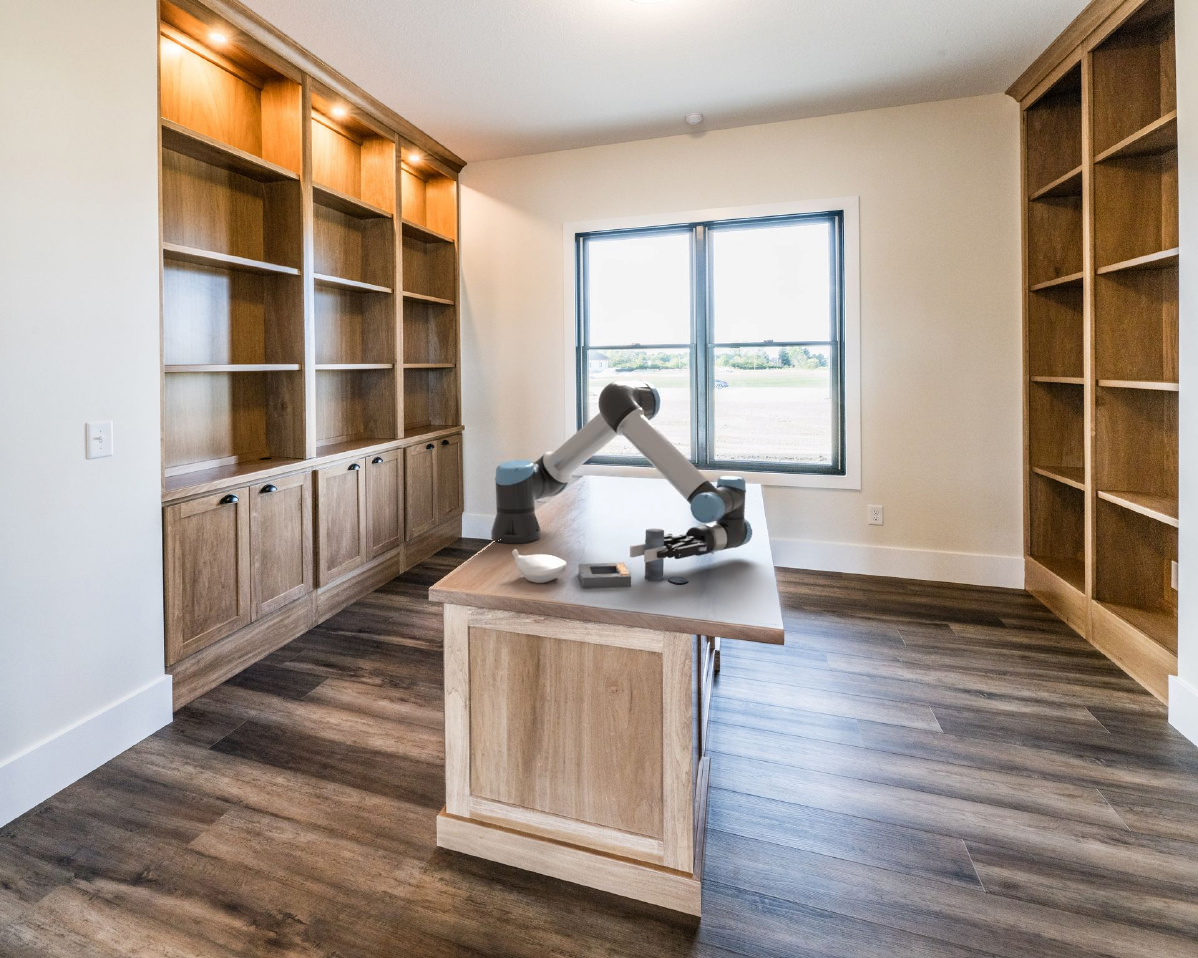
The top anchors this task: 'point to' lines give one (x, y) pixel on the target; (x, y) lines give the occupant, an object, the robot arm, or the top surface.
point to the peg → (654, 567)
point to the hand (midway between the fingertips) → (638, 554)
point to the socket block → (604, 575)
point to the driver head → (539, 566)
